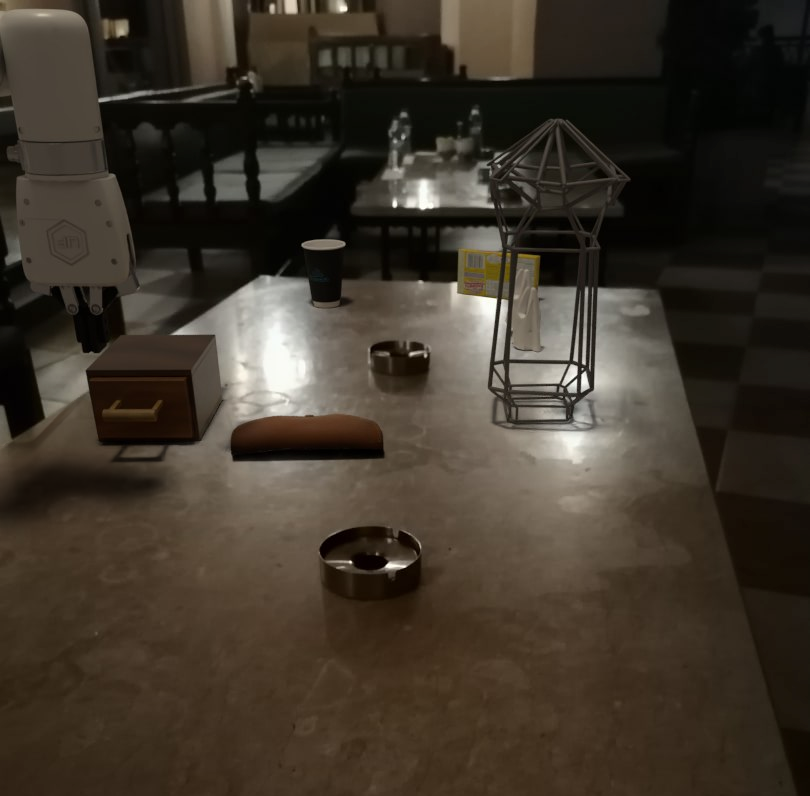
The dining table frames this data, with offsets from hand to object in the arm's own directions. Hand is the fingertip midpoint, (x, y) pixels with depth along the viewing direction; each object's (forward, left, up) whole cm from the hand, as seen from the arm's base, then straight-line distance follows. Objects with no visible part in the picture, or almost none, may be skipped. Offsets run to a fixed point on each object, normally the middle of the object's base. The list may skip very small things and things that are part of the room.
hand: (95, 349), depth 94 cm
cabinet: (0, +18, -15) cm, 24 cm away
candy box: (+48, +81, -15) cm, 96 cm away
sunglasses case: (+20, +9, -15) cm, 27 cm away
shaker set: (+50, +52, -15) cm, 74 cm away
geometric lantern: (+49, +20, -15) cm, 56 cm away
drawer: (0, +14, -14) cm, 20 cm away
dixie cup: (+16, +76, -15) cm, 80 cm away
